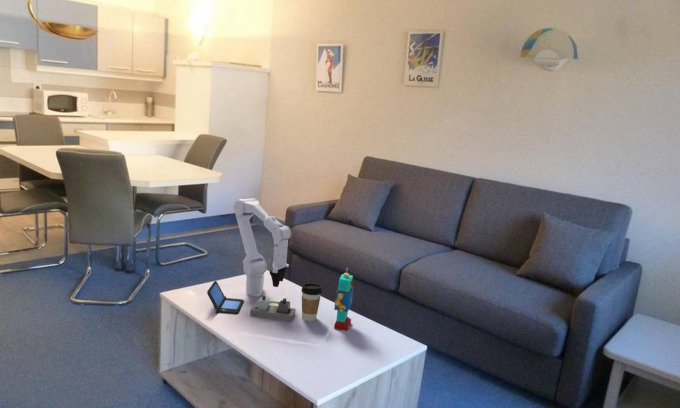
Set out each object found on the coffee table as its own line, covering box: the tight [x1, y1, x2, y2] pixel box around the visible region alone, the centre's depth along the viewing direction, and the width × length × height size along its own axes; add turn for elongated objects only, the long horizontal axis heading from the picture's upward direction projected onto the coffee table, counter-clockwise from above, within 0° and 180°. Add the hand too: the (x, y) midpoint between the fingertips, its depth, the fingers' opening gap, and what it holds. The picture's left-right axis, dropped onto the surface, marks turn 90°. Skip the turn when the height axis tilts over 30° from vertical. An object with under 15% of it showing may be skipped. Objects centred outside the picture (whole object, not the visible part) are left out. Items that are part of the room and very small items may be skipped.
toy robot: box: [333, 267, 354, 332], centre depth 212 cm, size 12×6×25 cm, turn 168°
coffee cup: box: [301, 282, 323, 322], centre depth 216 cm, size 8×8×15 cm
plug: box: [256, 294, 271, 311], centre depth 217 cm, size 4×4×8 cm
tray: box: [269, 299, 280, 306], centre depth 226 cm, size 8×8×1 cm
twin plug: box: [278, 297, 291, 314], centre depth 216 cm, size 4×4×8 cm
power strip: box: [249, 302, 296, 322], centre depth 217 cm, size 8×17×3 cm, turn 82°
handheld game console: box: [206, 280, 245, 315], centre depth 221 cm, size 16×13×9 cm
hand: (277, 283), depth 228 cm, fingers open, 7 cm apart
